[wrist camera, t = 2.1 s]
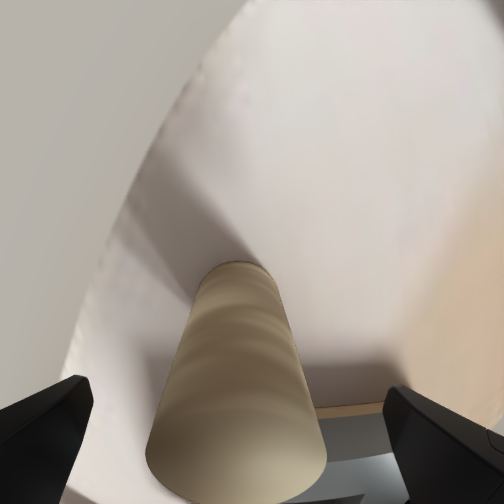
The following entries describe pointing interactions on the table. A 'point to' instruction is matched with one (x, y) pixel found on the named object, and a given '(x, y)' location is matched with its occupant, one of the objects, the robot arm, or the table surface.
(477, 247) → the table surface
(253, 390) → the wooden pin
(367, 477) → the grey square-holed block
